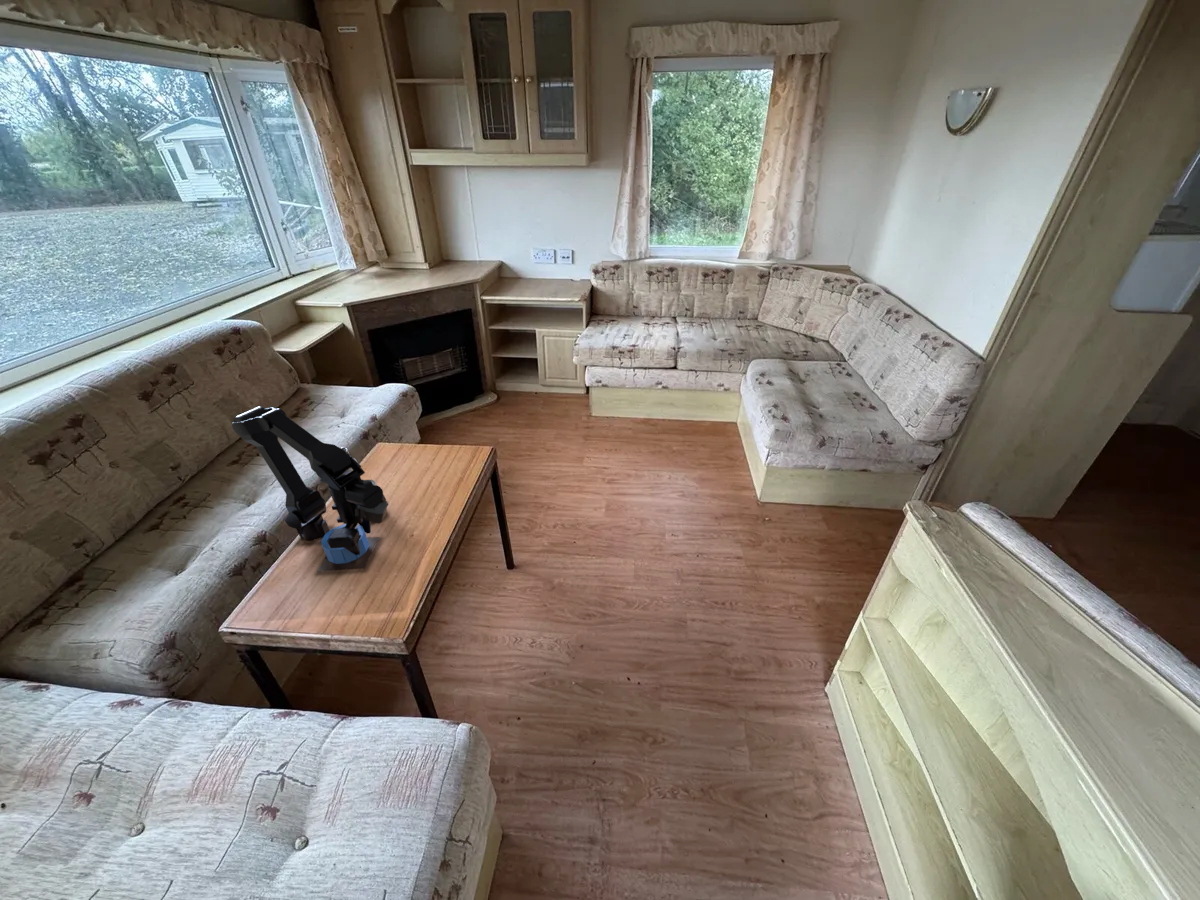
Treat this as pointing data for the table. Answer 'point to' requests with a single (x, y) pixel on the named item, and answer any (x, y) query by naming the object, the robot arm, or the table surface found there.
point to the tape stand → (355, 564)
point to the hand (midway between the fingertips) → (363, 543)
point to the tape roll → (341, 553)
